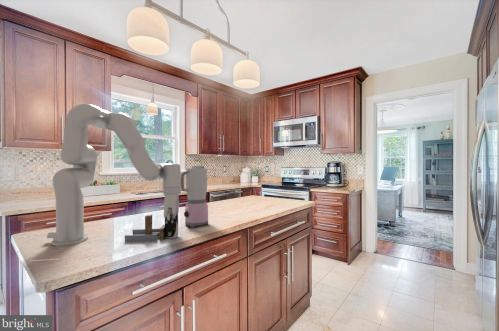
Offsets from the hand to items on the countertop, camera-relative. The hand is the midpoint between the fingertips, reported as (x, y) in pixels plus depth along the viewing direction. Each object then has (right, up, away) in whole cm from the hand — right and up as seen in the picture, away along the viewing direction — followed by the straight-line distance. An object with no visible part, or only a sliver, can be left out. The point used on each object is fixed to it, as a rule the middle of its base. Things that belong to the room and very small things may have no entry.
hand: (172, 229), depth 107 cm
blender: (+5, -4, +21) cm, 22 cm away
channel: (-12, -4, -1) cm, 13 cm away
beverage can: (0, -4, 0) cm, 4 cm away
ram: (-7, -4, -1) cm, 8 cm away
